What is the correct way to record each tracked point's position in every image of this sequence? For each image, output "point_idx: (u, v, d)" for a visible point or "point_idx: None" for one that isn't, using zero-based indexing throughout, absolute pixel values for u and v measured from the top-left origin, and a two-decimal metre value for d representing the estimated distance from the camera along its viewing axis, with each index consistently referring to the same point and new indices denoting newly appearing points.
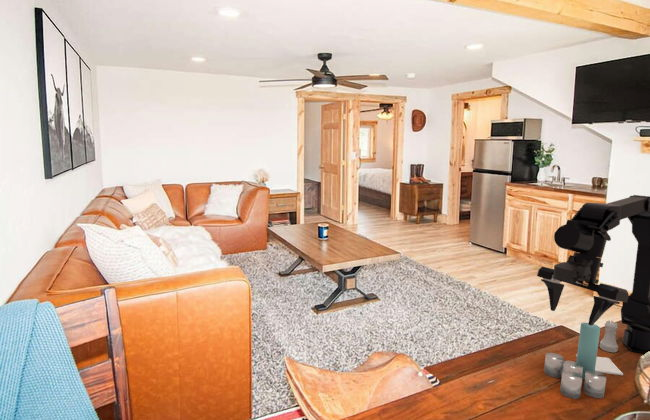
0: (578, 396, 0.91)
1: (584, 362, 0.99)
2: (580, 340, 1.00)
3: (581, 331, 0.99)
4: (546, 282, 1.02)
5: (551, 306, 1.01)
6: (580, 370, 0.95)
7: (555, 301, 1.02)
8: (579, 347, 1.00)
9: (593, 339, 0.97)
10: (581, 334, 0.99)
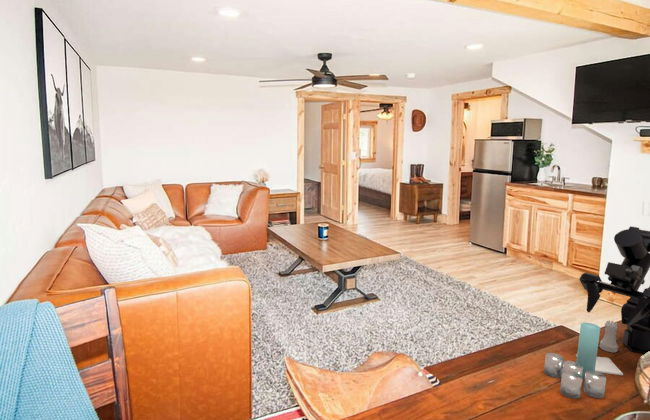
0: (578, 396, 0.91)
1: (584, 362, 0.99)
2: (580, 340, 1.00)
3: (581, 331, 0.99)
4: (589, 284, 1.09)
5: (588, 306, 1.07)
6: (580, 370, 0.95)
7: (592, 304, 1.07)
8: (579, 347, 1.00)
9: (593, 339, 0.97)
10: (581, 334, 0.99)
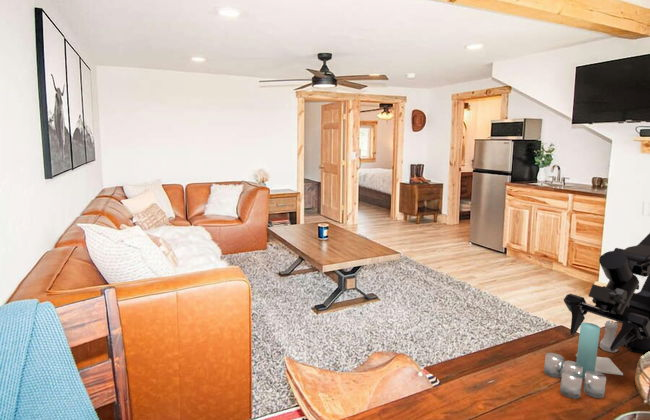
0: (578, 396, 0.91)
1: (584, 362, 0.99)
2: (580, 340, 1.00)
3: (581, 331, 0.99)
4: (573, 306, 1.06)
5: (572, 329, 1.04)
6: (580, 370, 0.95)
7: (576, 326, 1.05)
8: (579, 347, 1.00)
9: (593, 339, 0.97)
10: (581, 334, 0.99)
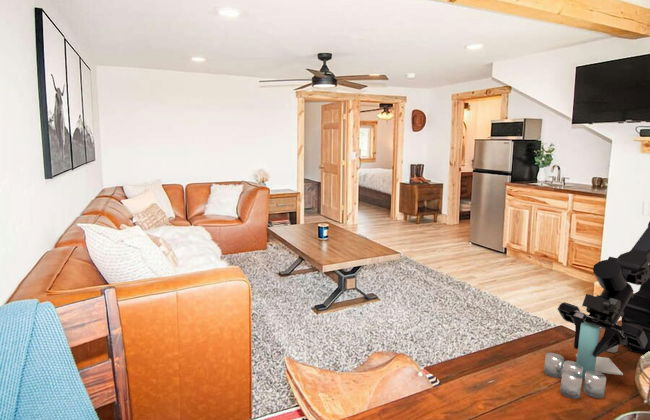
0: (578, 396, 0.91)
1: (584, 362, 0.99)
2: (580, 340, 1.00)
3: (581, 331, 0.99)
4: (576, 318, 1.03)
5: (575, 343, 1.01)
6: (580, 370, 0.95)
7: None
8: (579, 347, 1.00)
9: (593, 339, 0.97)
10: (581, 334, 0.99)
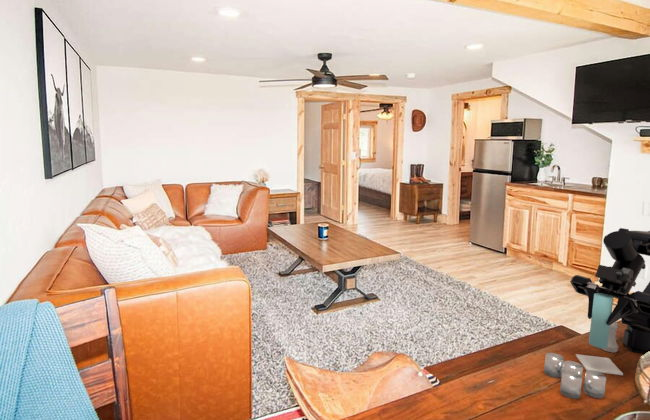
0: (578, 396, 0.91)
1: (597, 331, 1.01)
2: (594, 310, 1.02)
3: (594, 301, 1.02)
4: (589, 289, 1.05)
5: (589, 313, 1.04)
6: (580, 370, 0.95)
7: None
8: (592, 317, 1.03)
9: (606, 308, 1.00)
10: (594, 304, 1.02)
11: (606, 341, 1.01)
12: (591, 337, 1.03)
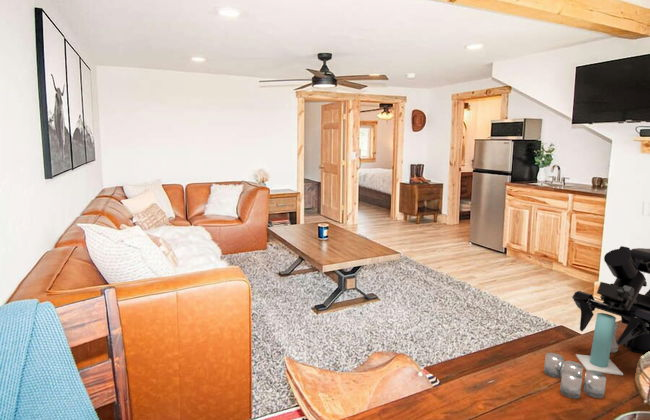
0: (578, 396, 0.91)
1: (599, 350, 1.04)
2: (596, 329, 1.05)
3: (597, 321, 1.04)
4: (582, 303, 1.10)
5: (581, 325, 1.08)
6: (580, 370, 0.95)
7: (585, 322, 1.08)
8: (594, 336, 1.05)
9: (609, 328, 1.02)
10: (597, 323, 1.04)
11: (607, 360, 1.04)
12: (592, 356, 1.06)
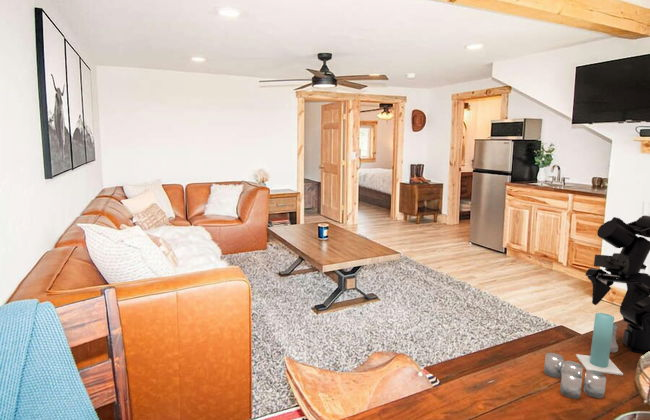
0: (578, 396, 0.91)
1: (598, 350, 1.04)
2: (595, 329, 1.05)
3: (596, 321, 1.05)
4: (591, 278, 1.16)
5: (593, 299, 1.14)
6: (580, 370, 0.95)
7: (597, 296, 1.14)
8: (593, 336, 1.05)
9: (607, 328, 1.03)
10: (596, 323, 1.05)
11: (606, 360, 1.04)
12: (592, 356, 1.06)
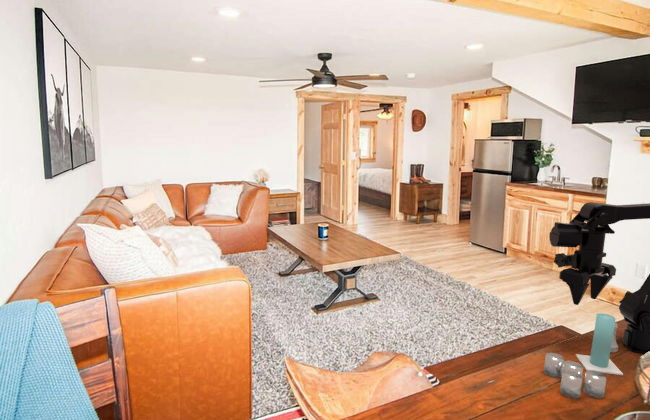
0: (578, 396, 0.91)
1: (598, 350, 1.04)
2: (595, 330, 1.04)
3: (597, 321, 1.04)
4: None
5: None
6: (580, 370, 0.95)
7: (593, 290, 1.17)
8: (594, 336, 1.05)
9: (608, 329, 1.02)
10: (597, 324, 1.04)
11: (606, 361, 1.04)
12: (592, 356, 1.06)
